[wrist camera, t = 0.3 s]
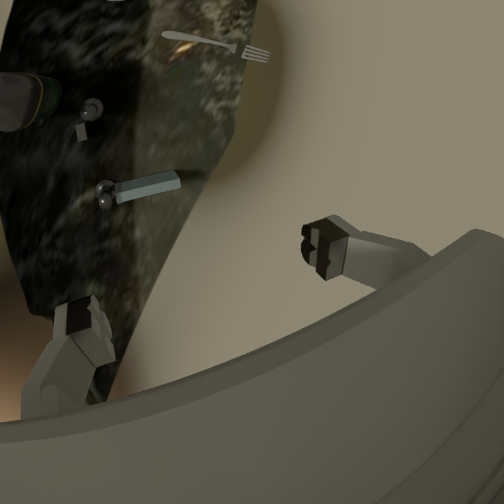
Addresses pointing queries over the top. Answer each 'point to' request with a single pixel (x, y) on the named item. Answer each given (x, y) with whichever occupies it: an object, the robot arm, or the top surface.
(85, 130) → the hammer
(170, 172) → the grey flat block
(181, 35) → the fork
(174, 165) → the top surface
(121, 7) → the top surface
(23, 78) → the coffee jar
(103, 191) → the round knob
